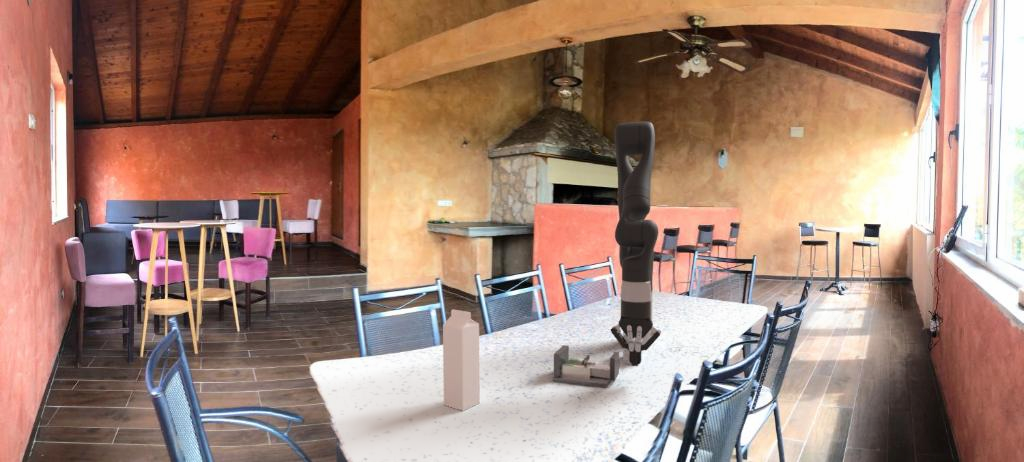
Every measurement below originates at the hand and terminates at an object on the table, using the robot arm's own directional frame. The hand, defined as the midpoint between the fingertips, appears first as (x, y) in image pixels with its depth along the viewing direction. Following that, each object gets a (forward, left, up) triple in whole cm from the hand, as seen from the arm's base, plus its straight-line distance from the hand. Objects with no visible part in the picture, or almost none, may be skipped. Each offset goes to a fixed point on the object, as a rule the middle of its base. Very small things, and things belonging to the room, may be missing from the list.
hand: (635, 365), depth 137 cm
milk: (+28, -35, -5) cm, 45 cm away
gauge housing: (0, -13, -5) cm, 14 cm away
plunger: (0, -9, -4) cm, 10 cm away
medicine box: (-20, -4, -5) cm, 21 cm away
